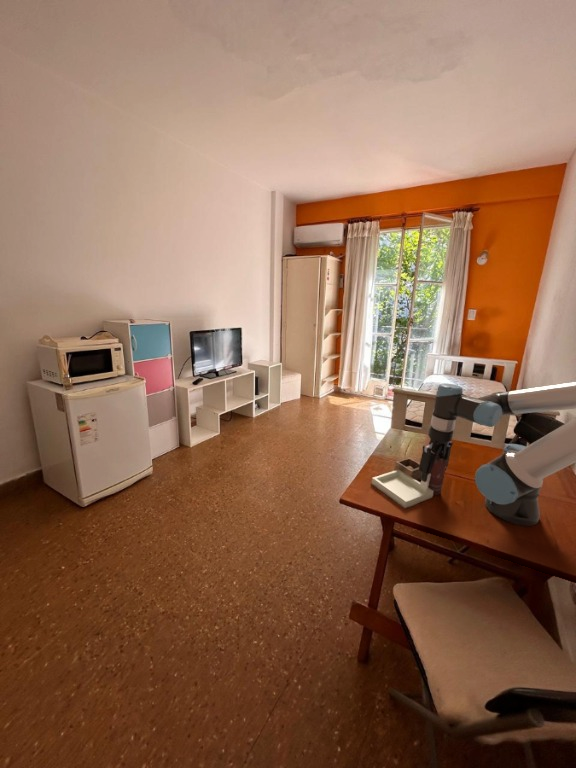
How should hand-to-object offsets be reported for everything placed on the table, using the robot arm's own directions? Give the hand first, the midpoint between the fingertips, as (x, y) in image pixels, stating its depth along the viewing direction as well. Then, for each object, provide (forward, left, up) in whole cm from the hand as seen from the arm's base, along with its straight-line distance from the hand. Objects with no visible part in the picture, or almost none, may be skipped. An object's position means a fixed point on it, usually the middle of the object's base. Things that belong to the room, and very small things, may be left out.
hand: (429, 486), depth 116 cm
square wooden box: (+11, -2, -2) cm, 11 cm away
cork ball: (+11, -2, -1) cm, 11 cm away
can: (0, -1, -2) cm, 3 cm away
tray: (+5, +9, -2) cm, 10 cm away
